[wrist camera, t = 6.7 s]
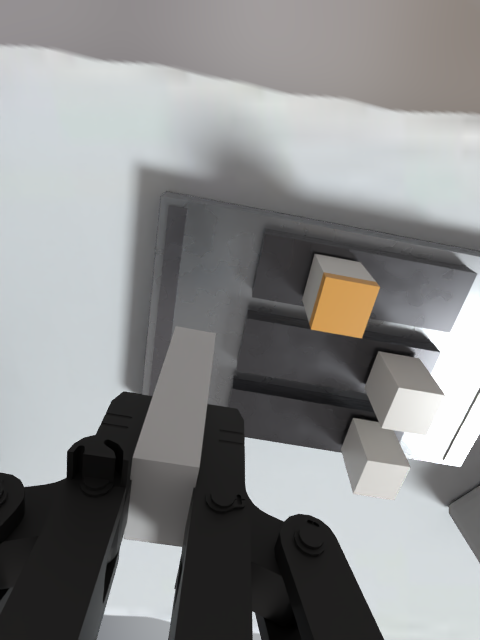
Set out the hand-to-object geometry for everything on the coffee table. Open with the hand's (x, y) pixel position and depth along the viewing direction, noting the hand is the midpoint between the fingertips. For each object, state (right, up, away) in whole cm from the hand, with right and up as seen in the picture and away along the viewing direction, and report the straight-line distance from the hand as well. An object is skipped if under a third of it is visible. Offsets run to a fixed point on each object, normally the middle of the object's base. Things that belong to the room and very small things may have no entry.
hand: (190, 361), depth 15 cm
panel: (+9, 0, +17) cm, 19 cm away
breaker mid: (+13, -2, +14) cm, 19 cm away
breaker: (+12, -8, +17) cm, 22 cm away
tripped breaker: (+8, +4, +11) cm, 14 cm away
